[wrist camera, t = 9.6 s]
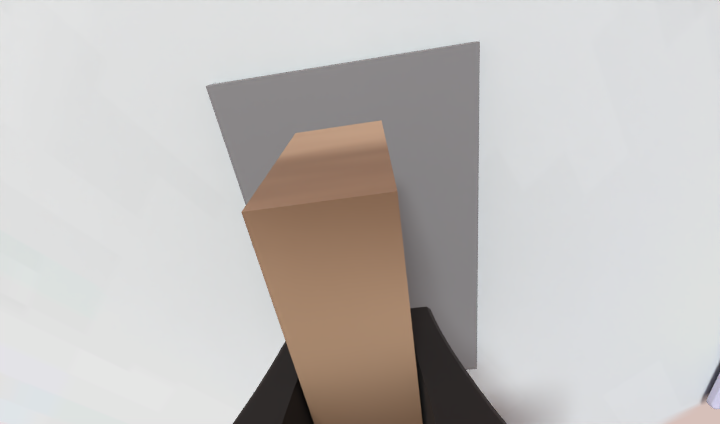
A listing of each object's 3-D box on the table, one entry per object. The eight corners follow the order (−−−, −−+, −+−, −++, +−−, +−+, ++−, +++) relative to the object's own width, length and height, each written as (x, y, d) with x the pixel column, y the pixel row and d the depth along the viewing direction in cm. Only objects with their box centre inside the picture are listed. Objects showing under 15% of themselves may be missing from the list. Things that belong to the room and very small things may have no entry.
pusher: (220, 144, 10) (109, 229, 6) (461, 108, 10) (546, 171, 5) (313, 416, 16) (293, 562, 12) (465, 402, 15) (507, 551, 11)
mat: (476, 41, 12) (479, 41, 12) (474, 362, 20) (476, 368, 20) (210, 84, 13) (206, 86, 13) (307, 378, 21) (306, 384, 21)
